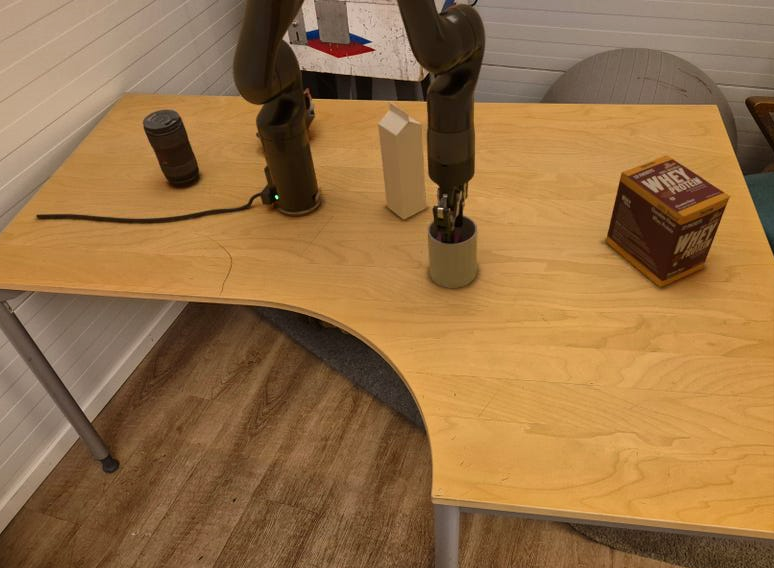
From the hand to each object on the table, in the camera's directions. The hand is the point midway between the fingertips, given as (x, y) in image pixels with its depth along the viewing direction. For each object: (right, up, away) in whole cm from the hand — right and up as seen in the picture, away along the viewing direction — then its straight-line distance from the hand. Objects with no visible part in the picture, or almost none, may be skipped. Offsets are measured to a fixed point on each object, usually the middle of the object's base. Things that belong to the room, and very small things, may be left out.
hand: (452, 235), depth 111 cm
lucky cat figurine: (-37, +32, +42) cm, 64 cm away
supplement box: (+38, -3, +7) cm, 39 cm away
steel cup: (+1, -6, +7) cm, 9 cm away
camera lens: (-59, +19, +33) cm, 70 cm away
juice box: (0, -5, +6) cm, 8 cm away
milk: (-8, +10, +21) cm, 24 cm away
